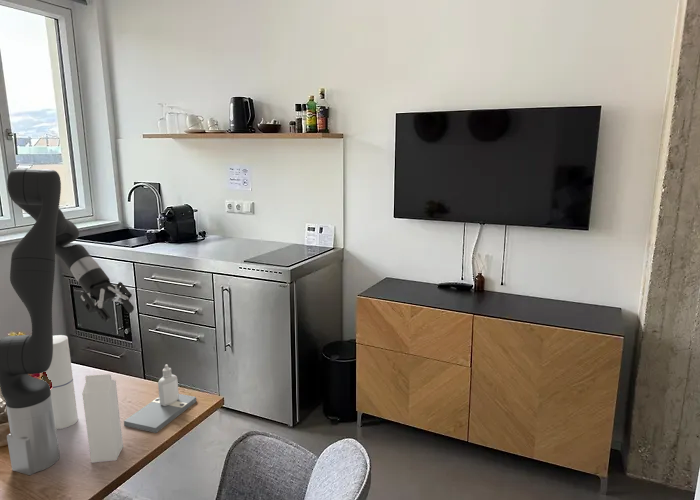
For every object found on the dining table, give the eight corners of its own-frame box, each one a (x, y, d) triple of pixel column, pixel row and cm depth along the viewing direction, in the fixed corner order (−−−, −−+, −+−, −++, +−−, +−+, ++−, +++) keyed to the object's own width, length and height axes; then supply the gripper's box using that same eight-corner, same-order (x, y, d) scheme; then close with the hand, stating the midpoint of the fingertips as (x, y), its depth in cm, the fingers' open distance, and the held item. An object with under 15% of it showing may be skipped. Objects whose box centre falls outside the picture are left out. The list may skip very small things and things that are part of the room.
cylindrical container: (55, 432, 136) (44, 347, 131) (44, 423, 140) (33, 340, 135) (82, 420, 141) (72, 338, 136) (71, 412, 146) (60, 333, 141)
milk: (99, 449, 128) (89, 370, 124) (123, 446, 129) (114, 368, 125) (90, 463, 122) (80, 381, 118) (116, 461, 123) (107, 379, 119)
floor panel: (156, 432, 135) (155, 427, 135) (124, 425, 139) (123, 420, 138) (196, 401, 152) (196, 396, 151) (167, 395, 155) (166, 390, 155)
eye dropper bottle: (180, 403, 148) (177, 365, 145) (160, 407, 145) (157, 369, 143) (178, 396, 152) (175, 360, 149) (158, 400, 149) (155, 364, 147)
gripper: (73, 272, 143) (105, 315, 141) (114, 262, 156) (144, 301, 153) (63, 288, 146) (94, 330, 144) (104, 277, 159) (133, 315, 156)
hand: (120, 315), depth 148 cm, fingers open, 8 cm apart
